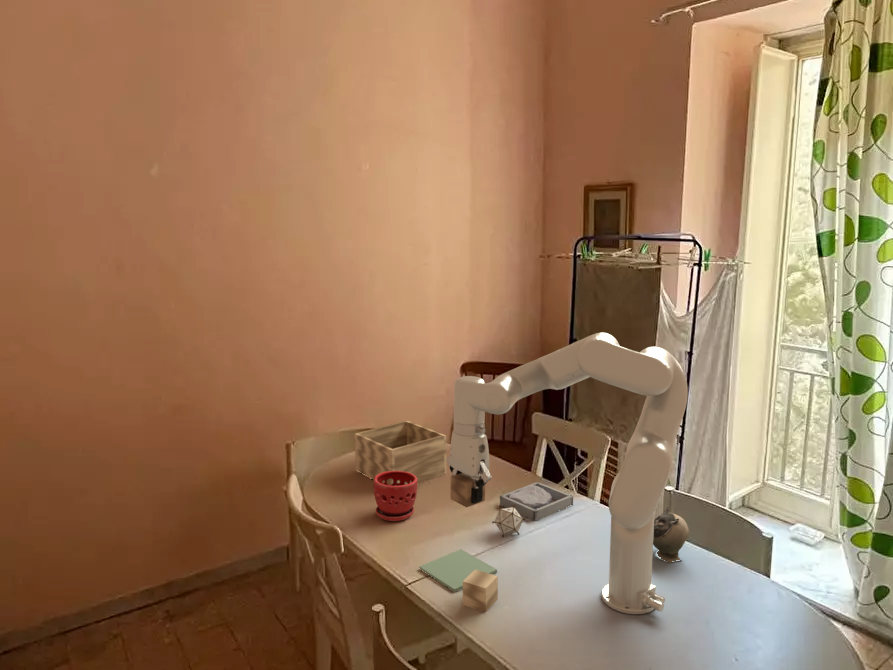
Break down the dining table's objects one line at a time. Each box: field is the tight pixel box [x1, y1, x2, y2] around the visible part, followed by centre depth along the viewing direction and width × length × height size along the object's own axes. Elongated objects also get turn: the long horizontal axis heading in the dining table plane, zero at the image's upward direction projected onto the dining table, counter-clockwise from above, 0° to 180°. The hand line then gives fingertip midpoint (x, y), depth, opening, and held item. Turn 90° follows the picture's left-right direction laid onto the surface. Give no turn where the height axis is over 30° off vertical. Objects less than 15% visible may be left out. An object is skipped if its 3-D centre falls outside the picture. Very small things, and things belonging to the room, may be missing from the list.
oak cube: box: [462, 570, 499, 613], centre depth 156 cm, size 6×6×6 cm
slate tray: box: [499, 481, 574, 522], centre depth 208 cm, size 15×17×3 cm
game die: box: [491, 504, 527, 538], centre depth 189 cm, size 9×8×10 cm
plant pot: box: [373, 471, 418, 522], centre depth 201 cm, size 13×13×12 cm
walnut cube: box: [450, 473, 486, 508], centre depth 164 cm, size 6×6×6 cm
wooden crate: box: [354, 420, 448, 485], centre depth 235 cm, size 23×23×14 cm
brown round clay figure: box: [653, 506, 690, 563], centre depth 175 cm, size 10×12×10 cm
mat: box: [419, 548, 498, 593], centre depth 170 cm, size 14×14×1 cm
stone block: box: [509, 484, 553, 509], centre depth 209 cm, size 12×5×10 cm
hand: (467, 496), depth 165 cm, fingers closed on walnut cube, 6 cm apart
